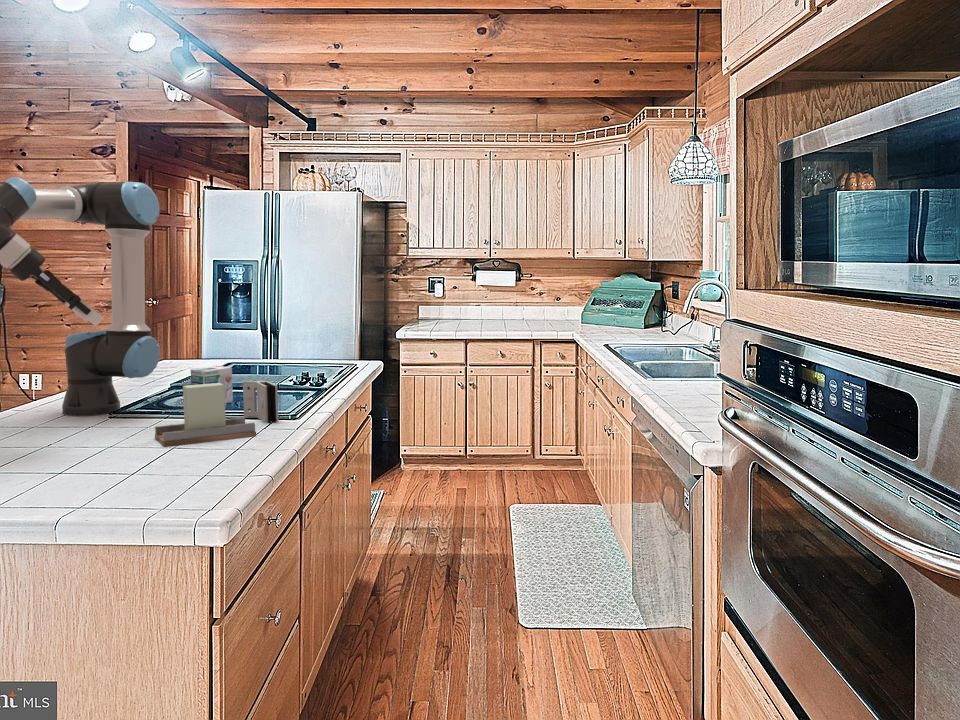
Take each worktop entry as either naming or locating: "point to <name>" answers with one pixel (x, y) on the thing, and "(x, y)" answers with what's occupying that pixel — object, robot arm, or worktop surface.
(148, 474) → the worktop surface
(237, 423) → the track
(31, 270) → the robot arm
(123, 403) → the worktop surface
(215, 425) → the door panel
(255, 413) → the hinge
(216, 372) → the light bulb box
